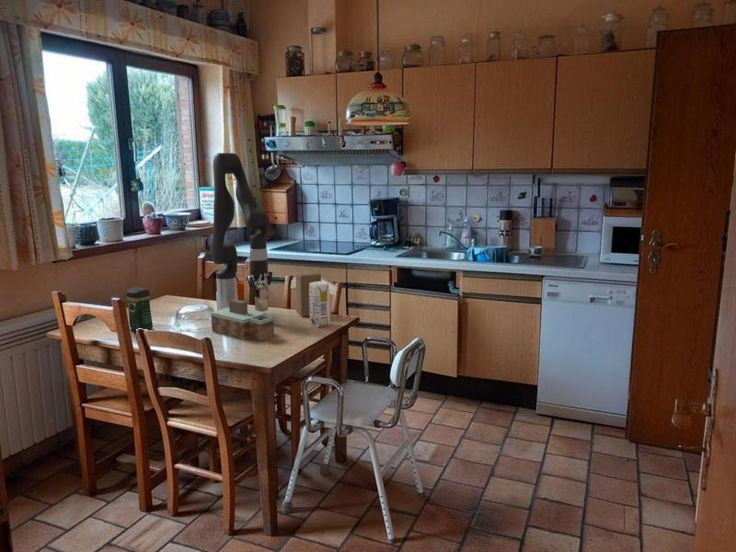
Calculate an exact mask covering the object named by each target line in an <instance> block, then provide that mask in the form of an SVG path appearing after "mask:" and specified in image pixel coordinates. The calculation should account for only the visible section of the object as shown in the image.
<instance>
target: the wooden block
mask: <svg viewBox="0 0 736 552" xmlns="http://www.w3.org/2000/svg"><path fill="white" fill-rule="evenodd" d="M319 281H322V274H321V273H319V272H318V271H317V270H305V271H302V270H301V271H296V272H295V290H296V291H295V292H296V293H295V296H296V297H295V300H296V313H297V314H298V315H300V316H301V317H302V318H306V317H305V316H308V317H310V310H309V283H312V282H319Z"/></svg>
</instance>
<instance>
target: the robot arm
mask: <svg viewBox="0 0 736 552" xmlns="http://www.w3.org/2000/svg"><path fill="white" fill-rule="evenodd" d="M212 160H213V161H212V170H213V186H214V190H213V191H214V192H213V195H214V196H213V225H212V226H213V230H212V231H213V232H212V239H211V240H212V241H211V246H210V247H211V248H210V256H211V261H212V263H213V264H215V265H222V267H221V268H220V269H219V270H217V271H216V272H215V278H216V293H215V297H216V311H218V310H221V309H225V308H228V307H229V300H233V299H236V300H239V299H238V284H237V271H238V253H237V252H238V251H237V248H236V246H235V244H233V243H230V242H228V243H225V237H226V234H227V232H228V230H229V228H230V226H231V224H233V220H234V219H235V208H236V207H235V200H234V199H233V196H232V194H231V193H230V191H229V190H228V187H227V184H226V183H227V182H226V175H233V177H234V178H235V180H236V187H235V196H236V199H237V202H238V204H239V205H240V208H241V211H242V215H243V216H242V217H243V222H244V225H245V226H246V228H247V229H249V230H250V231H251V230H253V231H254V230H256V233H254V234H251V235H250V236H249V249H250V251H249V258H250V259H249V261H250V262H249V263H250V269H251V273H250V275H249V276H246V280H247V283H248V287H249V288H250V289H253V295H254V298H255V297H257V298H258V297H259V286H260V285H262V286H267V288H268V286H270V285H271V283H272V279H273V278H272V277H273V272H272V271H269V270H268V269H269V261H268V260H269V259H268V249H267V236H268V232H269V227H270V218H269V216H268V214H266V212H254V211H256V209H257V208H258V202H257V200H256V198H255V197H254V194H253V192H252V191H251V188H250V186H249V183H248V180H247V176H246V173H245V170H244V167H243V164H242V161H241V159H240V157H239V155H238V154H237V153H233V152H218V153H215V154H214V157H213V159H212Z"/></svg>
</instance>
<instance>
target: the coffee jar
mask: <svg viewBox="0 0 736 552" xmlns="http://www.w3.org/2000/svg"><path fill="white" fill-rule="evenodd" d="M126 300H127V306H128V325H129V324H130V327H131V330H130V331H133V332H136V331H135V330H136V329H138V328H143V329H150V330H152V329H153V327H154V325H153V320H152V319H153V318H152V312H151V311H152V310H151V304H150V302H151V301H150V300H151V294H150V290H149V289H148V288H143V287H137V286H134V287H130V288H128V289H127V290H126Z"/></svg>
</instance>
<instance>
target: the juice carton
mask: <svg viewBox="0 0 736 552" xmlns="http://www.w3.org/2000/svg"><path fill="white" fill-rule="evenodd" d="M330 290H331V289H330V284H329V283H326V282H324V281H322V280H321V281H319V282H312V283H309V310H310V316H309V323H310V325H311V324H312V325H311V326H313V325H314V327H315V328H317V329H319V328H318V327H320V328H324V327H323V326H325V327H329V325H330V324H331V300H330V299H331V298H330V297H331V296H330Z"/></svg>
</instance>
